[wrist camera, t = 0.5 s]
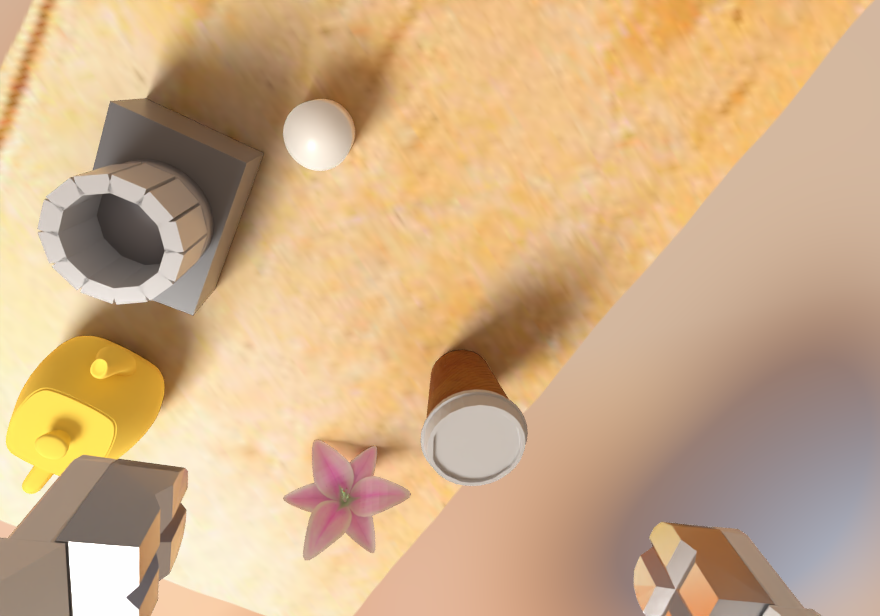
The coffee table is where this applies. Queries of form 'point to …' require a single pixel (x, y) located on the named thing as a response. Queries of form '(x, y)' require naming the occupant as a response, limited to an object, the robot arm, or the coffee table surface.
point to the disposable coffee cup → (470, 422)
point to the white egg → (319, 134)
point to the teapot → (83, 407)
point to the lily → (343, 498)
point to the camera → (150, 209)
